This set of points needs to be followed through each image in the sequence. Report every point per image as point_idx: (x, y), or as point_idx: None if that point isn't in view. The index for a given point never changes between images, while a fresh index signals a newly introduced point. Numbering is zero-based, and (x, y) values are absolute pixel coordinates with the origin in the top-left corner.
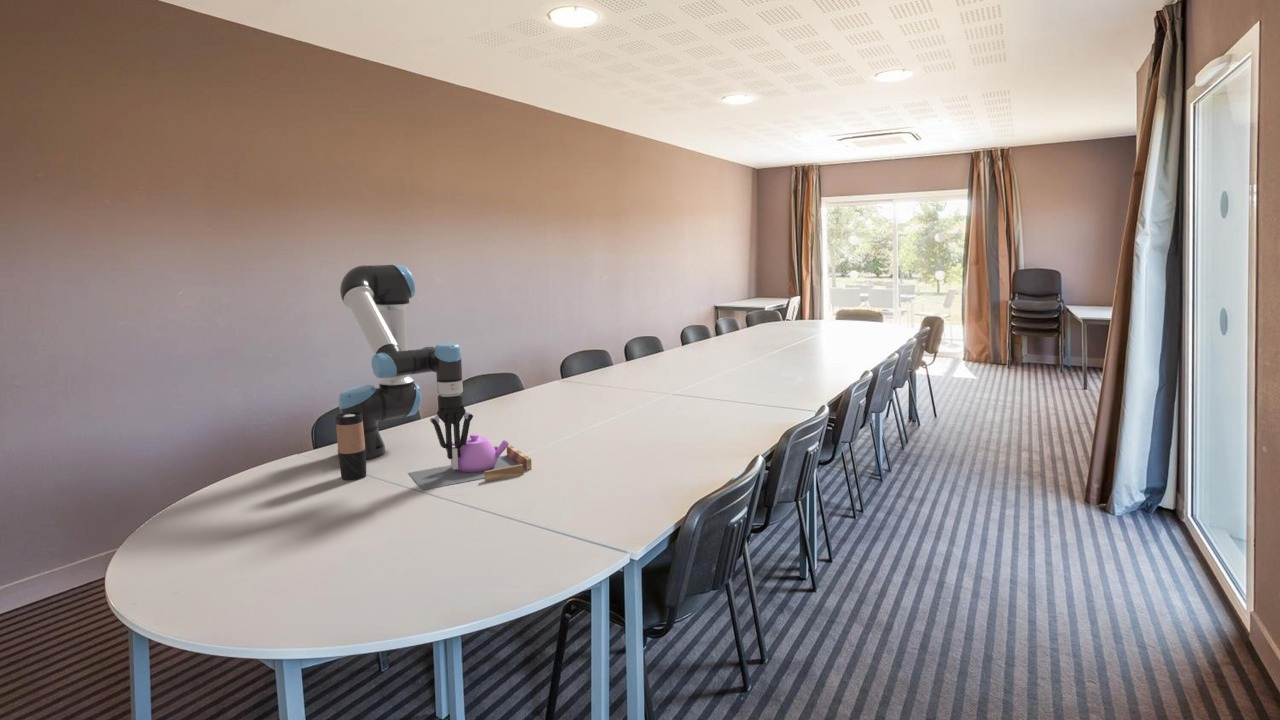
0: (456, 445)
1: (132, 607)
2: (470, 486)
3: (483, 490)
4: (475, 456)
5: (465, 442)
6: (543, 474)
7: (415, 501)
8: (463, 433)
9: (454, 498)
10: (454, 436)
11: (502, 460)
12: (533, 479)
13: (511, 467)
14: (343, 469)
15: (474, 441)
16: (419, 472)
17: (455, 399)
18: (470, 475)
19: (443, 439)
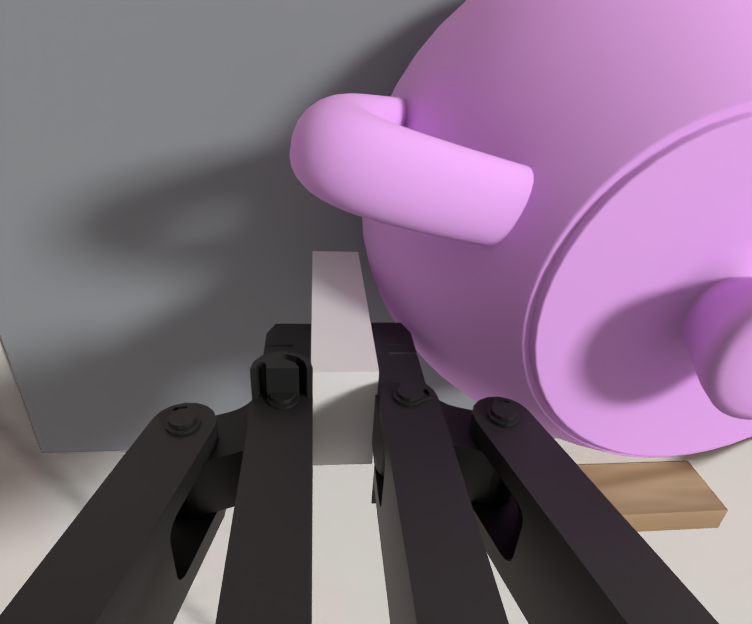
0: (374, 485)
1: None
2: (344, 507)
3: (381, 573)
4: None
5: (502, 506)
6: (745, 517)
7: (2, 566)
8: (544, 614)
9: (217, 600)
10: (395, 527)
11: None
12: (657, 550)
13: (640, 530)
14: None
15: (675, 376)
16: (2, 9)
17: None
18: (419, 360)
19: (163, 615)
